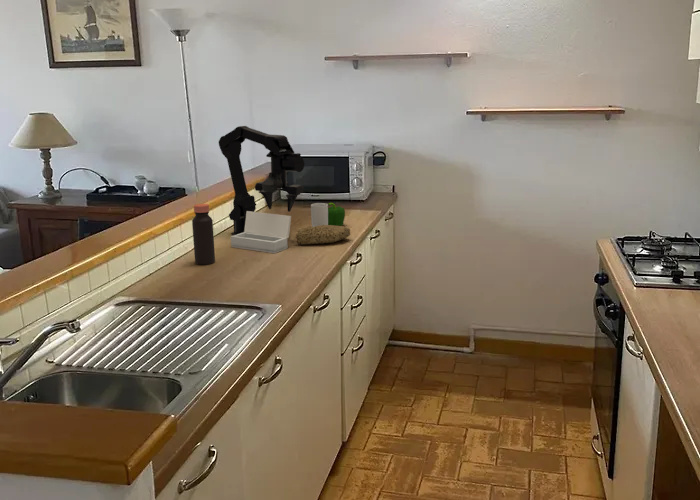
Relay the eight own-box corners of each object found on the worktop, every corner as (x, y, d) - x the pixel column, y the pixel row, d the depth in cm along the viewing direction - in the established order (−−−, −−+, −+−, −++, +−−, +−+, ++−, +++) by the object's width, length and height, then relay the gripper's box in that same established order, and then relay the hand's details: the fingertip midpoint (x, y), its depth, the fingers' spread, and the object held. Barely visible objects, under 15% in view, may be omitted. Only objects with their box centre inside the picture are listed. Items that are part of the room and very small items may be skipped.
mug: (325, 236, 273) (325, 206, 270) (309, 235, 275) (308, 206, 272) (332, 230, 283) (331, 201, 280) (316, 230, 284) (315, 201, 281)
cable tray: (231, 246, 259) (230, 236, 258) (244, 242, 266) (244, 232, 265) (274, 253, 250) (274, 242, 248) (287, 248, 256) (287, 237, 255)
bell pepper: (346, 224, 295) (345, 200, 292) (344, 228, 287) (343, 204, 285) (326, 223, 296) (326, 200, 293) (324, 228, 288) (323, 204, 285)
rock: (298, 250, 258) (350, 239, 257) (293, 230, 258) (346, 218, 257) (302, 248, 271) (352, 237, 270) (297, 228, 271) (347, 217, 270)
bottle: (208, 258, 244) (204, 202, 239) (219, 262, 239) (215, 204, 234) (191, 262, 239) (187, 205, 234) (202, 266, 234) (198, 207, 229)
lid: (246, 210, 265) (248, 211, 266) (244, 231, 265) (245, 232, 266) (289, 215, 255) (291, 216, 256) (287, 237, 255) (288, 237, 256)
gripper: (245, 170, 259) (247, 211, 263) (287, 174, 250) (288, 217, 255) (262, 166, 268) (264, 206, 273) (304, 170, 260) (304, 211, 264)
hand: (279, 210), depth 266 cm, fingers open, 8 cm apart
